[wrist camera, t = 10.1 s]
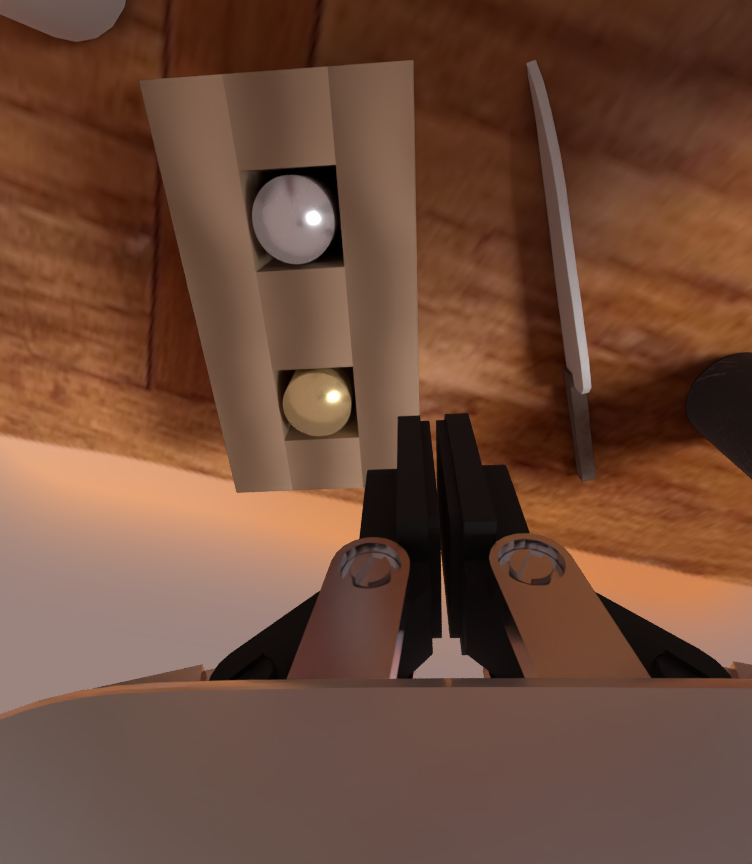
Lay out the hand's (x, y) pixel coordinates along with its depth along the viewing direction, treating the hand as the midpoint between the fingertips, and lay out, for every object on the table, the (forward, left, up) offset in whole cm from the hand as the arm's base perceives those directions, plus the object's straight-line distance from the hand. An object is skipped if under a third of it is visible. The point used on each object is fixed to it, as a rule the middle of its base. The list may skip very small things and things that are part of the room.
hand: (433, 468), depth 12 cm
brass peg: (+5, +5, -24) cm, 25 cm away
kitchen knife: (-12, +3, -25) cm, 28 cm away
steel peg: (+5, -5, -24) cm, 25 cm away
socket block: (+5, 0, -25) cm, 25 cm away
